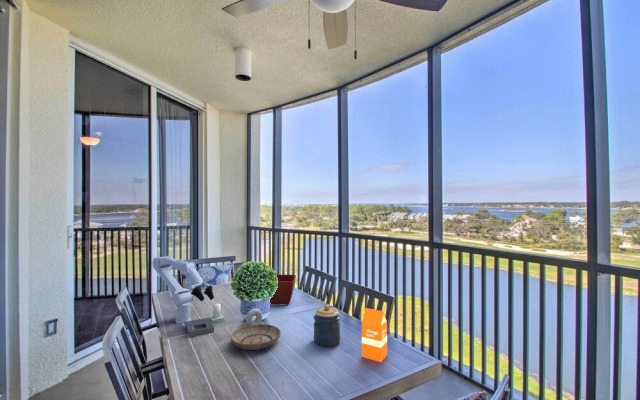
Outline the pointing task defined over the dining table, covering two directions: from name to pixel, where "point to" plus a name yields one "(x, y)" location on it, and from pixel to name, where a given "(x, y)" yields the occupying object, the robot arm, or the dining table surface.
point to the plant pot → (284, 289)
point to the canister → (326, 327)
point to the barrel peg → (216, 310)
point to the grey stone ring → (251, 314)
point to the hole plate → (199, 327)
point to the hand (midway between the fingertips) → (207, 299)
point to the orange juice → (374, 335)
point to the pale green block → (216, 319)
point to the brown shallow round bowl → (255, 336)
